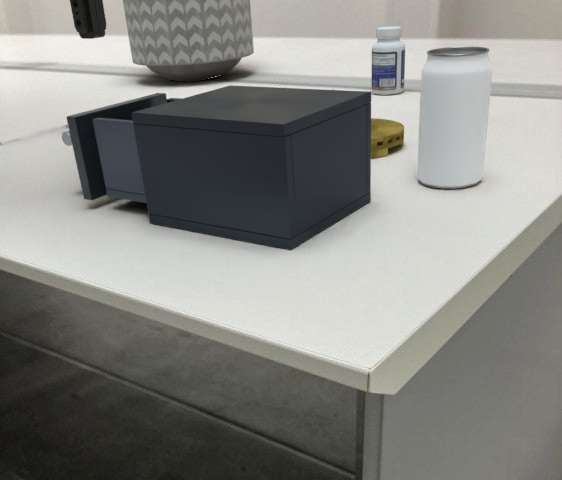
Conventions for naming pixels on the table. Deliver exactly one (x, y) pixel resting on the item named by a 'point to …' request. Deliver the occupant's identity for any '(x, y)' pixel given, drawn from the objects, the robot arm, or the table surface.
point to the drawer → (109, 149)
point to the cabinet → (256, 161)
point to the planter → (189, 36)
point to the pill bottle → (388, 61)
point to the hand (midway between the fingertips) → (92, 37)
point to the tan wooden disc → (385, 136)
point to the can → (453, 117)
